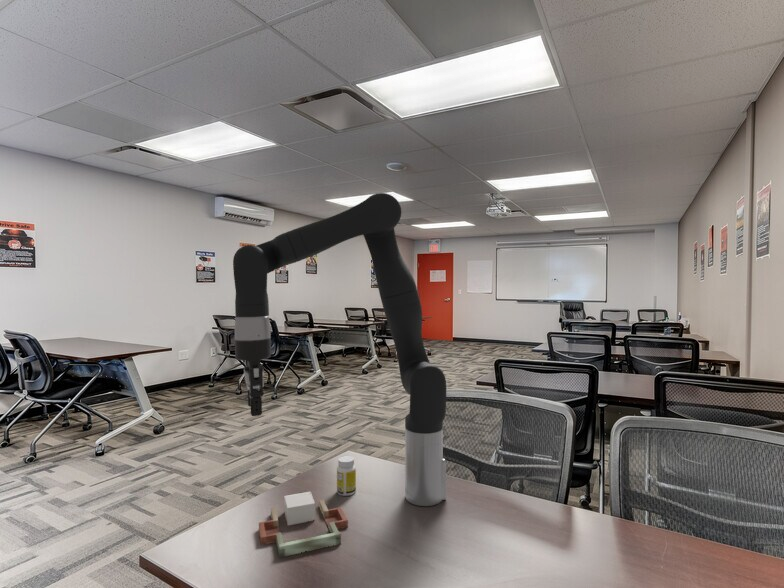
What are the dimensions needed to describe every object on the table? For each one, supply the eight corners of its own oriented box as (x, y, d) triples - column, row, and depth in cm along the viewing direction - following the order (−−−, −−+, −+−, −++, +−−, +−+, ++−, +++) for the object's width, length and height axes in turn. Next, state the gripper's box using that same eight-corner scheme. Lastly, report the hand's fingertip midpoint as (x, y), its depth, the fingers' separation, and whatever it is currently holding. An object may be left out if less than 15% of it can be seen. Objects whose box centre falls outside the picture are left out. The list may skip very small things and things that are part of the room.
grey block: (310, 508, 101) (310, 491, 101) (315, 521, 95) (315, 503, 95) (284, 513, 99) (284, 495, 99) (287, 526, 93) (287, 508, 93)
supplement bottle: (357, 488, 111) (357, 455, 111) (354, 496, 106) (353, 462, 106) (339, 487, 111) (339, 455, 111) (335, 496, 107) (334, 462, 107)
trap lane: (335, 502, 103) (335, 494, 103) (355, 540, 87) (355, 531, 87) (256, 517, 97) (256, 508, 97) (263, 561, 81) (263, 550, 81)
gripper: (274, 339, 89) (276, 416, 89) (267, 333, 103) (268, 401, 103) (236, 341, 87) (238, 421, 87) (233, 335, 100) (235, 404, 100)
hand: (254, 410), depth 95 cm, fingers open, 8 cm apart
